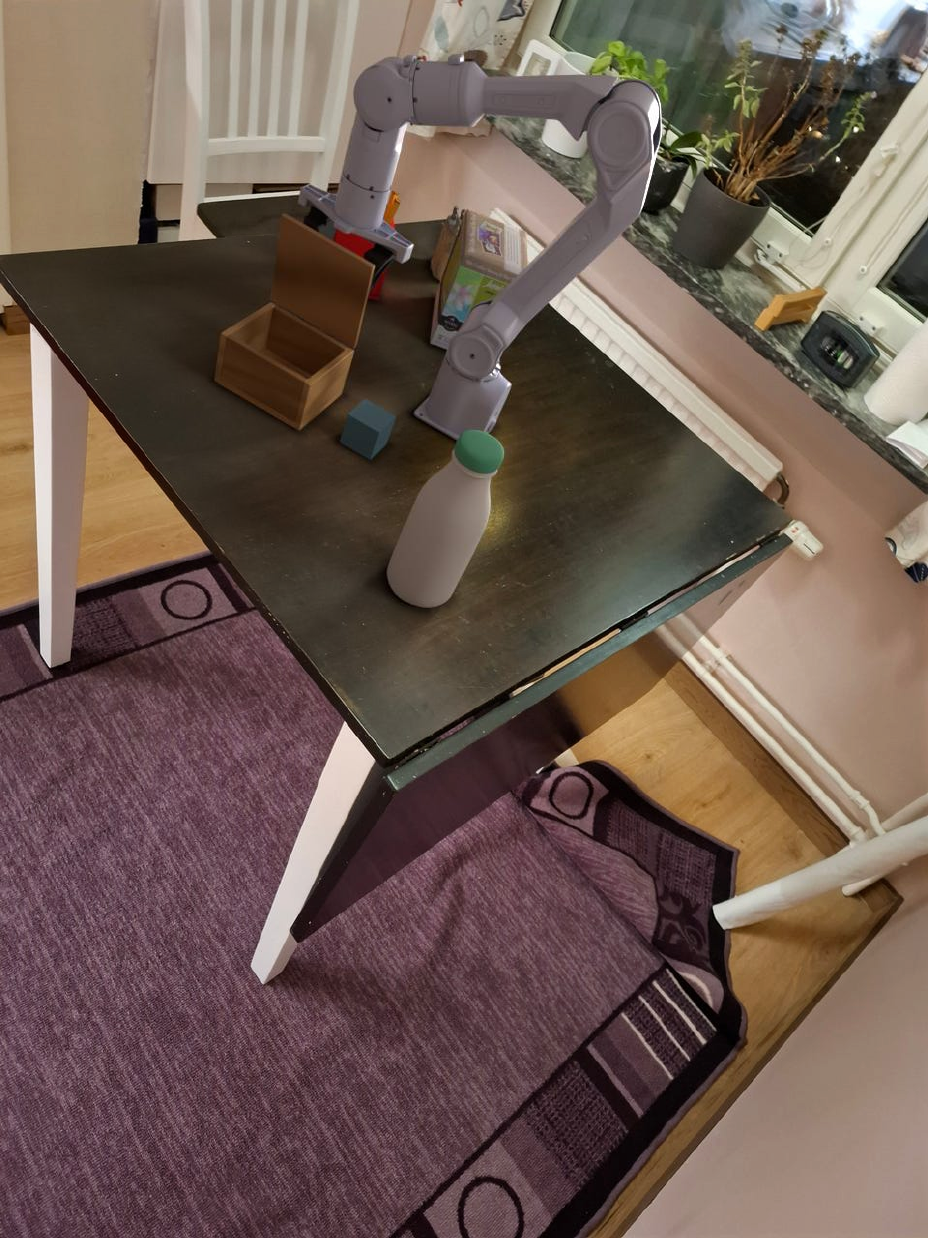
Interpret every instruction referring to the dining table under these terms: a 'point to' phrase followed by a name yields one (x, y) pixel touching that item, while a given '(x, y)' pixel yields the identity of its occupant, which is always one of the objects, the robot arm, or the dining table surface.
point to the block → (367, 429)
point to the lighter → (446, 242)
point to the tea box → (476, 271)
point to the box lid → (320, 280)
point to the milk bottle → (446, 523)
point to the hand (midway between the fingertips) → (339, 286)
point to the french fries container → (362, 245)
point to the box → (282, 365)
